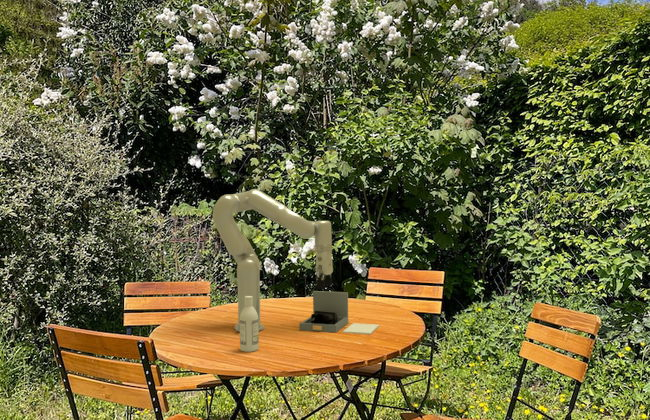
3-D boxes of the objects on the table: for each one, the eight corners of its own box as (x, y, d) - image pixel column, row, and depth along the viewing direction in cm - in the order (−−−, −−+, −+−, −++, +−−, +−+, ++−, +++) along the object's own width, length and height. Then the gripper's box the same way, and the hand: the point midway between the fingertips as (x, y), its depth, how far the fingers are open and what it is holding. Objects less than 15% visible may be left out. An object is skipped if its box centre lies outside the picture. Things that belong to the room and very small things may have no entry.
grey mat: (370, 334, 225) (370, 333, 225) (342, 332, 229) (342, 331, 229) (379, 326, 240) (379, 324, 240) (353, 324, 244) (353, 323, 244)
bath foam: (258, 346, 208) (258, 294, 207) (258, 351, 201) (257, 297, 201) (240, 347, 207) (239, 295, 207) (239, 352, 200) (238, 298, 200)
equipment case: (335, 332, 228) (335, 299, 228) (299, 330, 234) (298, 298, 233) (348, 323, 247) (347, 292, 246) (314, 321, 252) (313, 291, 252)
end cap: (337, 326, 241) (337, 311, 241) (330, 330, 234) (330, 314, 234) (318, 324, 245) (317, 309, 245) (310, 327, 239) (310, 312, 239)
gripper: (325, 250, 230) (326, 291, 230) (337, 247, 246) (338, 284, 247) (308, 250, 232) (309, 290, 233) (321, 247, 249) (322, 284, 249)
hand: (324, 287), depth 240 cm, fingers open, 9 cm apart
